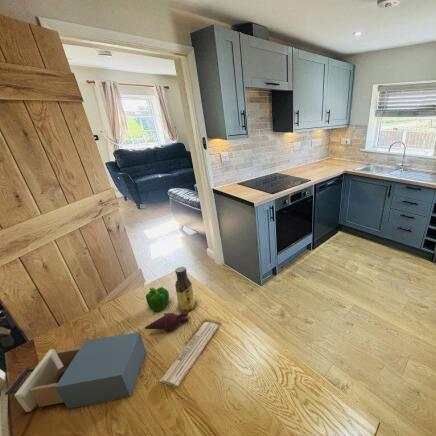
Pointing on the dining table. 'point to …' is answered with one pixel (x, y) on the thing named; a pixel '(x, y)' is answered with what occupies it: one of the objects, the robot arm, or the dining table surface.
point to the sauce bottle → (184, 290)
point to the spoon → (59, 374)
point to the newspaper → (189, 355)
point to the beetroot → (168, 321)
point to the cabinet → (102, 370)
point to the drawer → (42, 380)
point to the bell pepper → (157, 298)
